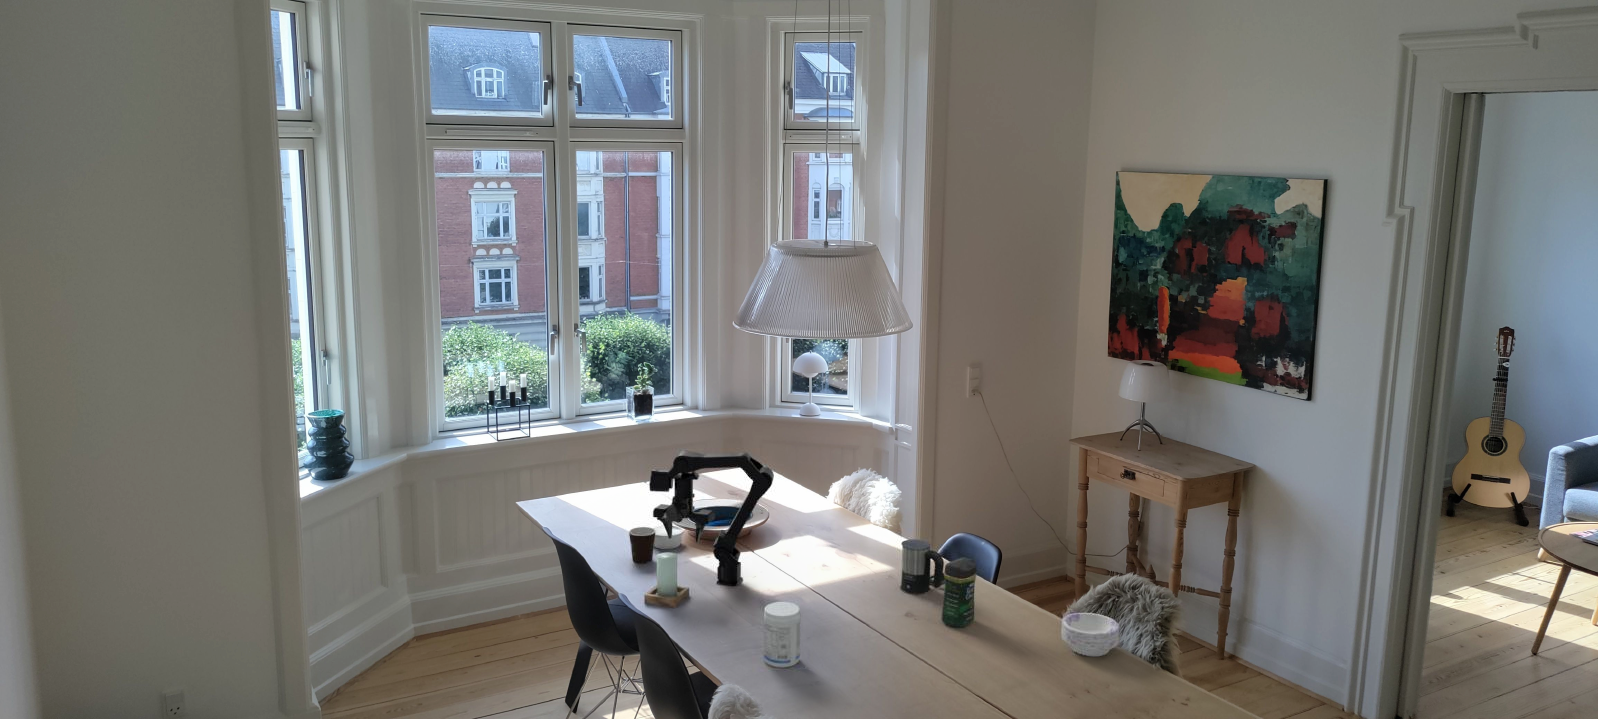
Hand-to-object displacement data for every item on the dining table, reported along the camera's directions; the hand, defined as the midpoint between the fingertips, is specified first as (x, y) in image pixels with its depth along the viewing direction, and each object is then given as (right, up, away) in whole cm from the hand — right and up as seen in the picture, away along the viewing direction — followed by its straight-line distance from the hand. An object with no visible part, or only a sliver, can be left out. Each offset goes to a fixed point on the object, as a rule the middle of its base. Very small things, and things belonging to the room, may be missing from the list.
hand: (683, 540), depth 338 cm
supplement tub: (+31, -23, -52) cm, 65 cm away
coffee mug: (-15, -10, +20) cm, 27 cm away
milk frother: (+75, -15, +1) cm, 77 cm away
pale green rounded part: (-3, -14, -13) cm, 20 cm away
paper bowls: (+115, -23, -42) cm, 125 cm away
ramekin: (-9, -7, +34) cm, 36 cm away
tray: (-4, -16, -13) cm, 21 cm away
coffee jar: (+82, -20, -25) cm, 88 cm away
